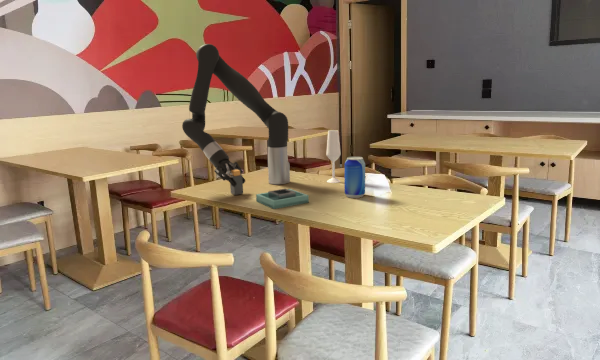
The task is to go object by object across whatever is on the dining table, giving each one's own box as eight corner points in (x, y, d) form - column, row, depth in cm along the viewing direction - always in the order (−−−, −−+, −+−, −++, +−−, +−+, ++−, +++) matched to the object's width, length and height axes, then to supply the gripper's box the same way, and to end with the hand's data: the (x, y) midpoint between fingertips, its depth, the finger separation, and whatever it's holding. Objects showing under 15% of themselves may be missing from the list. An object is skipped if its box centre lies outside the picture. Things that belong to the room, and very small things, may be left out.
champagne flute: (339, 183, 227) (339, 131, 222) (325, 182, 228) (325, 131, 223) (341, 180, 233) (341, 129, 228) (327, 179, 235) (327, 129, 230)
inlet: (285, 195, 201) (285, 188, 200) (296, 199, 194) (295, 192, 194) (268, 198, 197) (268, 191, 196) (278, 202, 190) (278, 195, 189)
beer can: (341, 197, 201) (341, 158, 198) (349, 192, 208) (349, 155, 205) (360, 199, 197) (360, 160, 194) (367, 194, 204) (368, 156, 201)
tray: (290, 195, 206) (289, 188, 205) (308, 202, 194) (308, 195, 193) (256, 201, 197) (256, 194, 196) (273, 209, 186) (273, 201, 185)
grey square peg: (239, 191, 212) (237, 169, 210) (243, 193, 209) (242, 170, 207) (230, 193, 210) (229, 170, 208) (234, 194, 207) (233, 171, 205)
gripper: (209, 151, 203) (234, 182, 200) (230, 146, 215) (254, 175, 212) (200, 163, 207) (224, 193, 204) (221, 157, 219) (245, 186, 216)
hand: (239, 183), depth 208 cm, fingers closed on grey square peg, 5 cm apart
